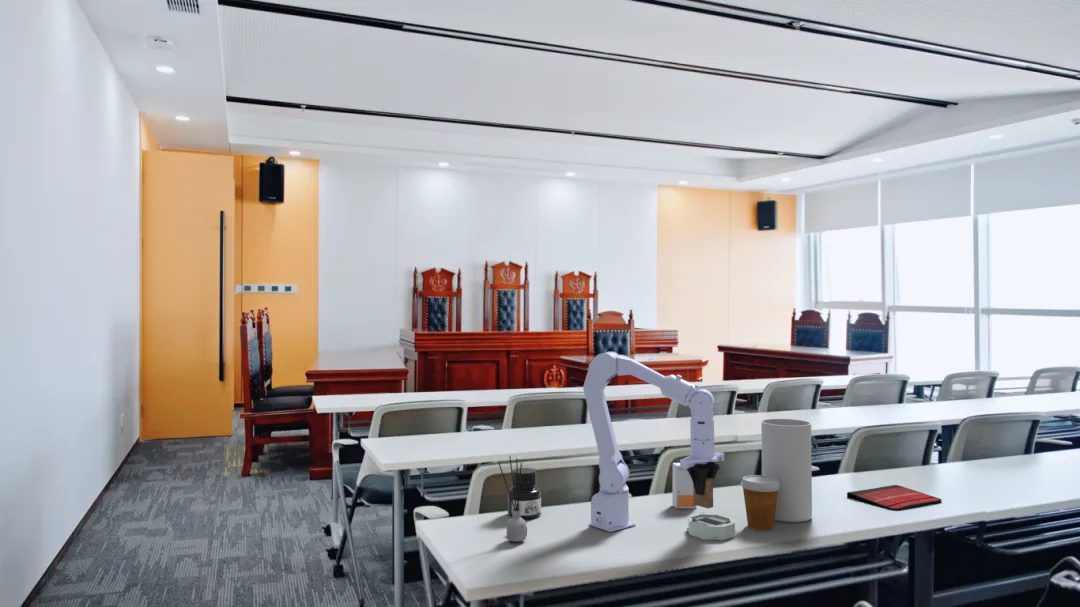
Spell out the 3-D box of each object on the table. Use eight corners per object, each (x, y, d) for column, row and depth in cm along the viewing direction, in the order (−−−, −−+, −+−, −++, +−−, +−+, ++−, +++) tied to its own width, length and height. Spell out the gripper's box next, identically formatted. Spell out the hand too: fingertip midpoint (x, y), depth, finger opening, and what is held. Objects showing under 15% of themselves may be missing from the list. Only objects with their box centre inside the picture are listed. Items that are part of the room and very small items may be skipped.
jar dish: (714, 543, 166) (714, 529, 166) (678, 531, 175) (678, 518, 175) (743, 534, 173) (743, 520, 173) (707, 523, 182) (707, 511, 182)
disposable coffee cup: (744, 531, 175) (743, 483, 175) (738, 520, 184) (738, 474, 185) (784, 533, 174) (783, 484, 174) (776, 521, 183) (776, 475, 183)
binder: (846, 491, 206) (895, 483, 216) (846, 499, 206) (895, 491, 216) (895, 507, 192) (945, 498, 201) (895, 515, 192) (945, 506, 201)
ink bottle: (512, 521, 184) (512, 475, 184) (501, 513, 192) (501, 468, 192) (547, 517, 188) (547, 472, 188) (535, 509, 196) (535, 465, 196)
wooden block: (708, 508, 172) (707, 479, 172) (693, 504, 176) (693, 476, 176) (713, 506, 173) (712, 478, 173) (698, 503, 177) (698, 475, 177)
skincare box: (675, 509, 195) (675, 465, 195) (672, 504, 199) (671, 462, 200) (697, 508, 195) (697, 465, 195) (693, 504, 200) (693, 462, 200)
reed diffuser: (532, 545, 165) (532, 460, 165) (504, 549, 162) (504, 462, 163) (518, 533, 174) (518, 452, 175) (491, 536, 172) (491, 454, 172)
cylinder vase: (822, 519, 185) (821, 423, 185) (787, 526, 179) (786, 427, 180) (786, 507, 196) (785, 417, 196) (752, 513, 190) (751, 420, 191)
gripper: (695, 444, 167) (696, 501, 167) (733, 437, 176) (734, 491, 176) (673, 440, 173) (673, 496, 172) (711, 433, 181) (711, 486, 181)
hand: (703, 493), depth 174 cm, fingers closed on wooden block, 2 cm apart
